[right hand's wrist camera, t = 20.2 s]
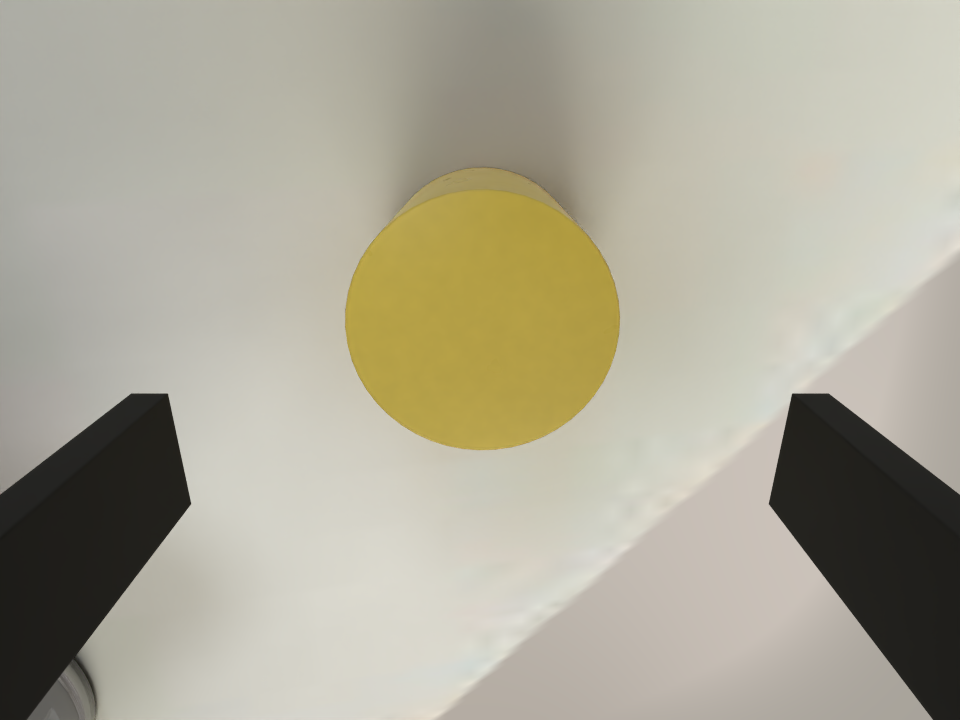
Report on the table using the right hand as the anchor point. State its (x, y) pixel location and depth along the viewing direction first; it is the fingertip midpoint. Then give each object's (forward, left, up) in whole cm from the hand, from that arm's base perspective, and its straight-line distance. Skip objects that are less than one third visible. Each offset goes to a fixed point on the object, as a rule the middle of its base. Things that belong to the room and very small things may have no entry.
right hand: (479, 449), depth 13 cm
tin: (0, 0, -16) cm, 16 cm away
